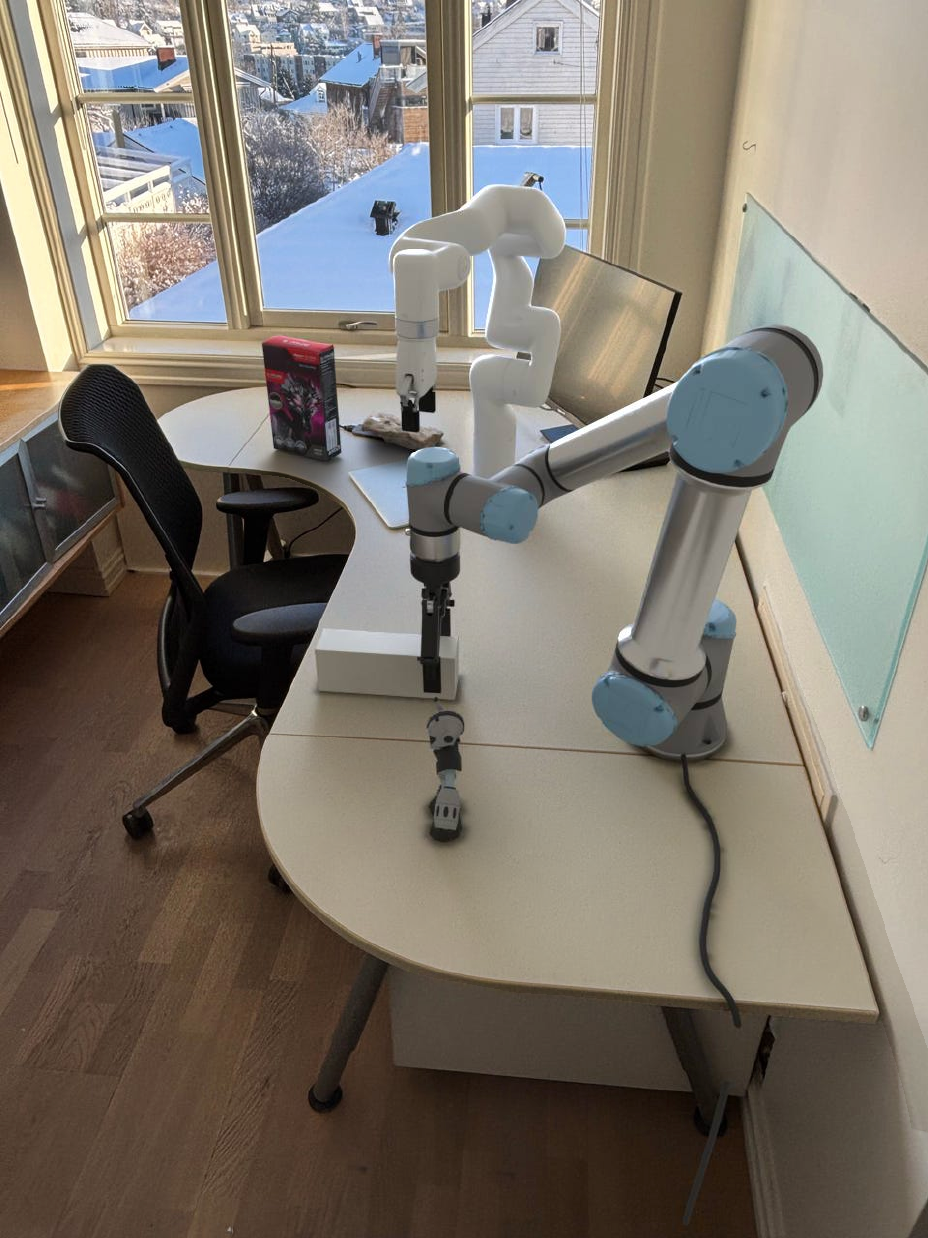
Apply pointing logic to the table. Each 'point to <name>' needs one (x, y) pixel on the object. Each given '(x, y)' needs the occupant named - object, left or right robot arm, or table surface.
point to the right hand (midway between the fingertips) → (437, 665)
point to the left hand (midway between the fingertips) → (419, 421)
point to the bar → (381, 664)
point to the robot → (446, 772)
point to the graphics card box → (302, 396)
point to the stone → (401, 432)
